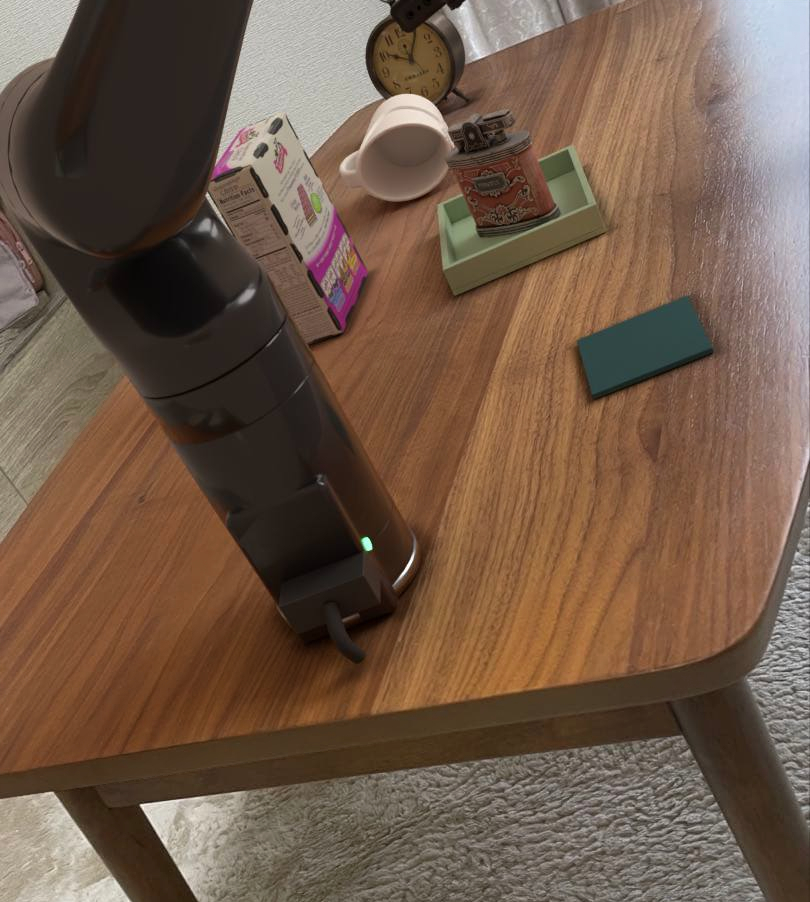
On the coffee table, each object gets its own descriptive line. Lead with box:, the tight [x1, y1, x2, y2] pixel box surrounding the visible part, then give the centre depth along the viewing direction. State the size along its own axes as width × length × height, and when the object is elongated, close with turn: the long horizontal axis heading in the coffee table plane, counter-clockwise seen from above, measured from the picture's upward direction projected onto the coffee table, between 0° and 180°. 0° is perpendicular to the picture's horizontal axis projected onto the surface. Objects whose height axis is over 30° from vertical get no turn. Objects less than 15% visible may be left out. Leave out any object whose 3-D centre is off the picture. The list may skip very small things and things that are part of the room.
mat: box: [576, 295, 715, 400], centre depth 82 cm, size 8×8×1 cm
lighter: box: [445, 108, 561, 238], centre depth 104 cm, size 8×3×10 cm, turn 59°
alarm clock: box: [364, 0, 471, 107], centre depth 141 cm, size 11×5×16 cm, turn 67°
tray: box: [436, 144, 607, 297], centre depth 106 cm, size 15×13×2 cm
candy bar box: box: [207, 111, 369, 346], centre depth 106 cm, size 11×5×16 cm, turn 168°
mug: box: [338, 94, 455, 203], centre depth 126 cm, size 12×9×8 cm
